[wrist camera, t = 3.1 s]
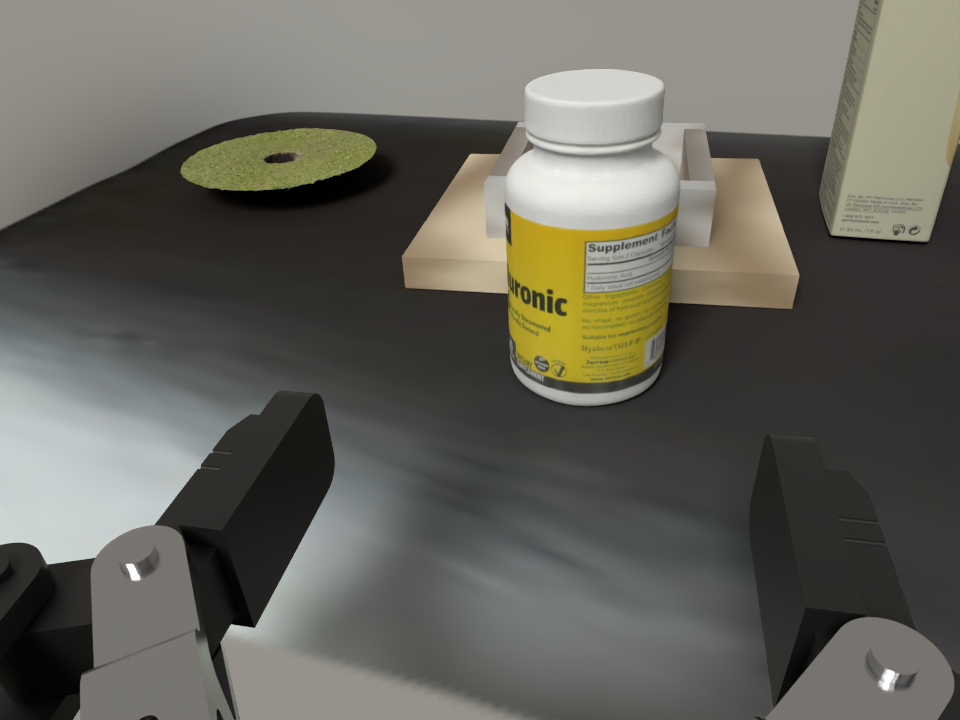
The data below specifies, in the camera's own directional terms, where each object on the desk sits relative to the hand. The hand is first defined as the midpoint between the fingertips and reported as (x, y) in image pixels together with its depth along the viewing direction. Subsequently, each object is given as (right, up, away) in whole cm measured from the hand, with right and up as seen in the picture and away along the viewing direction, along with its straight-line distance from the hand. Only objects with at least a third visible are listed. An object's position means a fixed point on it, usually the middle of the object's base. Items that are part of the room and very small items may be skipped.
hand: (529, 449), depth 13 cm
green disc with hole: (-13, +12, +31) cm, 35 cm away
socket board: (+5, +8, +23) cm, 25 cm away
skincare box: (+18, +9, +23) cm, 31 cm away
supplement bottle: (+3, +1, +13) cm, 13 cm away
